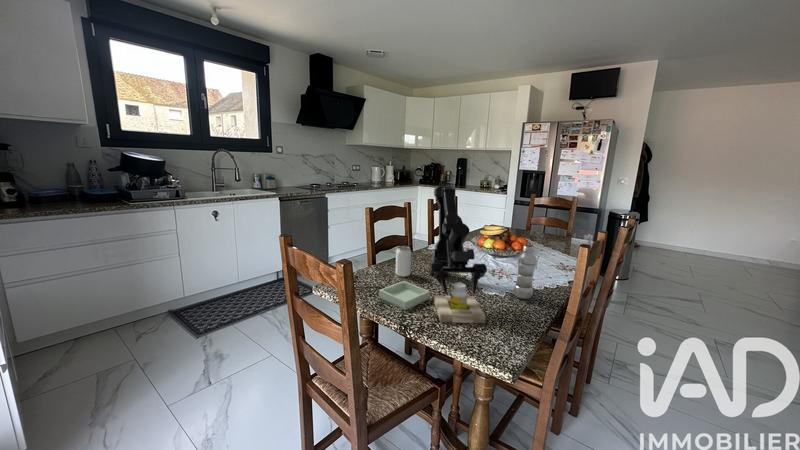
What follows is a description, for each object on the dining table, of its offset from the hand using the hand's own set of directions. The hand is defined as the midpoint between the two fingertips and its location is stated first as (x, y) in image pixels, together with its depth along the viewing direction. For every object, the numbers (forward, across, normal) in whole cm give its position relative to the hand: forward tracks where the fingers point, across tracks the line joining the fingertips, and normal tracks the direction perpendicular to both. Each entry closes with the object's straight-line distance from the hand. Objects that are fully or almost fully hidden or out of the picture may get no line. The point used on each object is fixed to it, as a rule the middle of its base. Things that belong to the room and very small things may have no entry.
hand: (460, 294), depth 102 cm
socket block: (+4, 0, +6) cm, 7 cm away
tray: (-3, -18, +12) cm, 22 cm away
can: (-20, -17, +30) cm, 39 cm away
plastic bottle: (-4, +27, +14) cm, 31 cm away
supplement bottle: (+4, 0, +6) cm, 7 cm away
